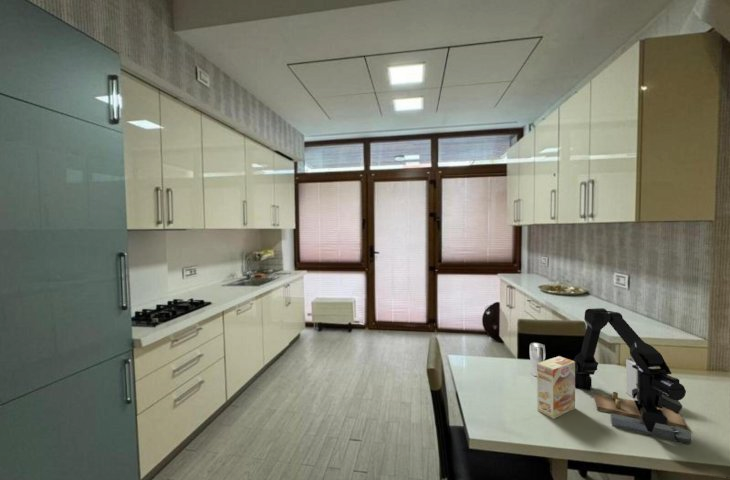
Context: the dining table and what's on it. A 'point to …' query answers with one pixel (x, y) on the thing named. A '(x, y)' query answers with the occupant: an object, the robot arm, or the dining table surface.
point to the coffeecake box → (556, 386)
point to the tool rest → (632, 409)
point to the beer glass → (536, 356)
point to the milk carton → (631, 376)
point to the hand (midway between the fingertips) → (648, 428)
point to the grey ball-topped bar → (658, 430)
